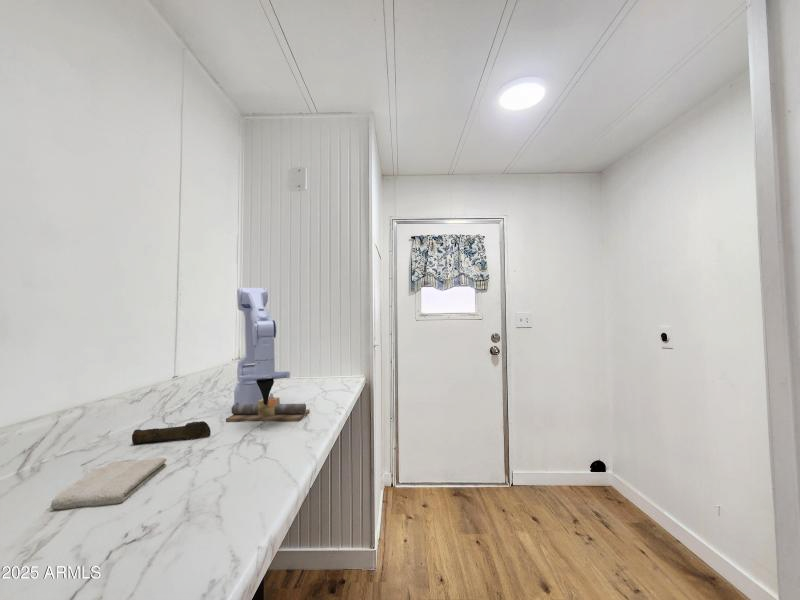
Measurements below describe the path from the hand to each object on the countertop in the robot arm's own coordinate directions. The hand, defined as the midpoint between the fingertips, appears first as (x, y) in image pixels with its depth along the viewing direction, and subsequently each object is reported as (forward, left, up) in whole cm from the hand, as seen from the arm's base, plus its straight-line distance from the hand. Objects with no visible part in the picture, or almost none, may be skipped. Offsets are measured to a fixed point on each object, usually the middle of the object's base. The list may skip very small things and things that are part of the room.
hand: (265, 404), depth 112 cm
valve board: (-3, +9, -6) cm, 11 cm away
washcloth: (-14, -38, -7) cm, 41 cm away
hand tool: (-21, -12, -7) cm, 25 cm away
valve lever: (0, +4, 0) cm, 4 cm away
